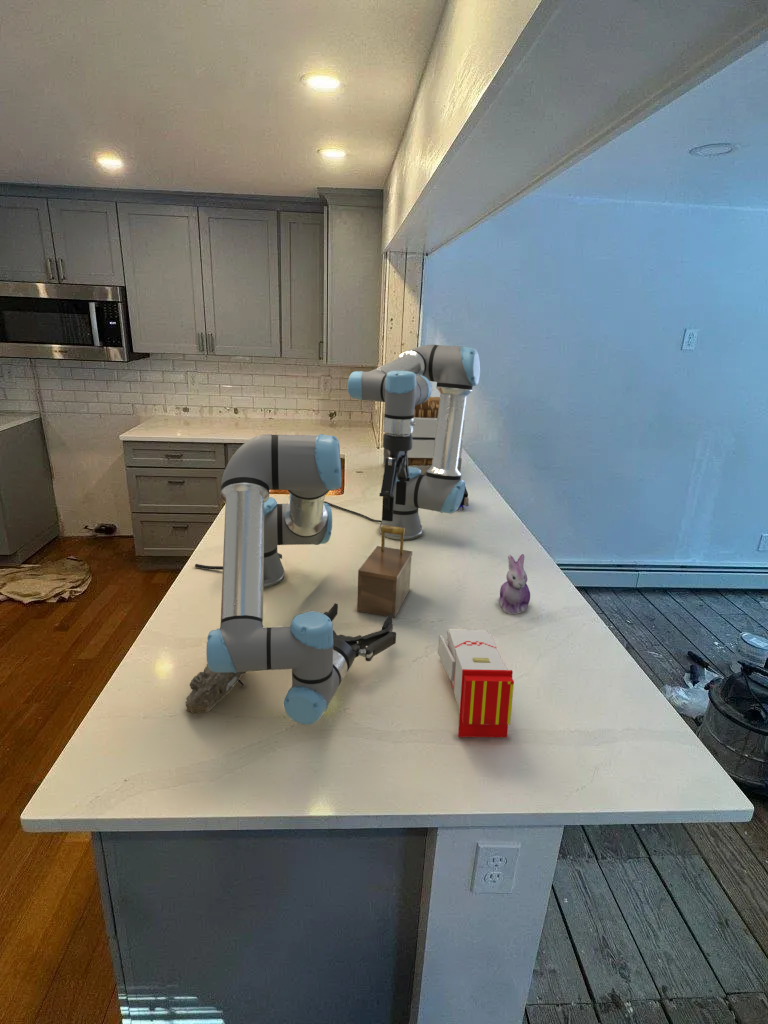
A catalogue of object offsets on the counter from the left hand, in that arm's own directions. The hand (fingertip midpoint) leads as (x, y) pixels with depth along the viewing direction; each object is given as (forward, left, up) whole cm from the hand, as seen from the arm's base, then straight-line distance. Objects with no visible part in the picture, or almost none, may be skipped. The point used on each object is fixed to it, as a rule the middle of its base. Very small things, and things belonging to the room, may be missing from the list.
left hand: (363, 613), depth 135 cm
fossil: (-21, -27, -6) cm, 35 cm away
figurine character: (+7, +106, -6) cm, 106 cm away
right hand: (0, +25, +17) cm, 30 cm away
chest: (0, +19, -6) cm, 20 cm away
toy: (+28, -12, -6) cm, 31 cm away
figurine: (+34, +28, -6) cm, 45 cm away
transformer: (-19, +147, -6) cm, 148 cm away
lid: (0, +20, +4) cm, 20 cm away
